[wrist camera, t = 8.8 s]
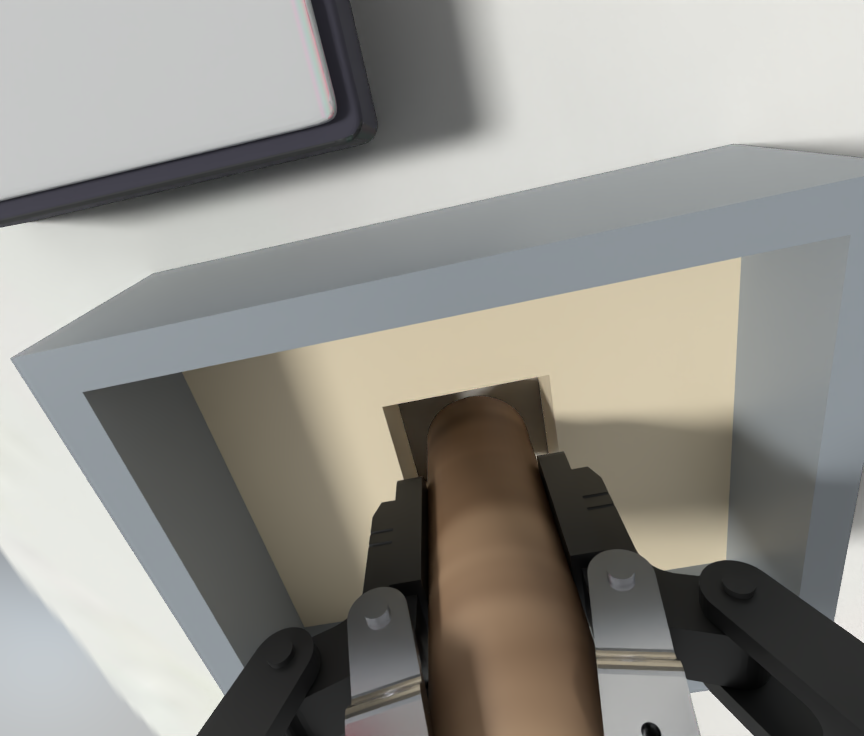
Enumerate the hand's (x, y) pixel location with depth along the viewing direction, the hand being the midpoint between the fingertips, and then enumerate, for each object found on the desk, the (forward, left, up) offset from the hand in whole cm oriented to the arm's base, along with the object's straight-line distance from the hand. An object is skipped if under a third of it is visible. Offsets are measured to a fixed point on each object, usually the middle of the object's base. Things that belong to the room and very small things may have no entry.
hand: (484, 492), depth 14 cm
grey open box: (0, 0, -4) cm, 4 cm away
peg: (0, 0, -3) cm, 3 cm away
